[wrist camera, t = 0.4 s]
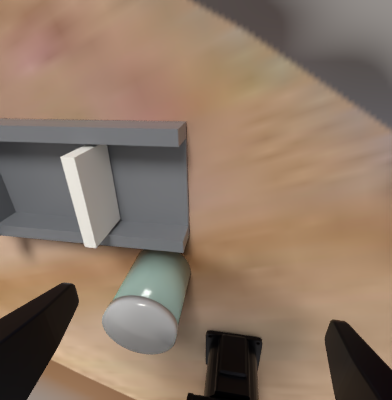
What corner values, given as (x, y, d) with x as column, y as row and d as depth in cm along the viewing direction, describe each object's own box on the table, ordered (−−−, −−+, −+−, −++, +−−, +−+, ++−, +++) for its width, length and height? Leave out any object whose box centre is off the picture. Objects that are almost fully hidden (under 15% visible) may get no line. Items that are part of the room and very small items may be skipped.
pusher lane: (189, 234, 24) (177, 271, 19) (13, 219, 27) (-33, 248, 22) (186, 121, 19) (169, 136, 14) (-29, 118, 22) (-98, 129, 17)
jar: (192, 292, 27) (177, 359, 21) (138, 286, 28) (109, 348, 22) (191, 247, 24) (173, 309, 18) (131, 242, 25) (95, 299, 19)
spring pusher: (120, 218, 23) (96, 248, 20) (110, 218, 24) (84, 247, 20) (106, 140, 20) (74, 157, 16) (94, 140, 20) (60, 157, 16)
